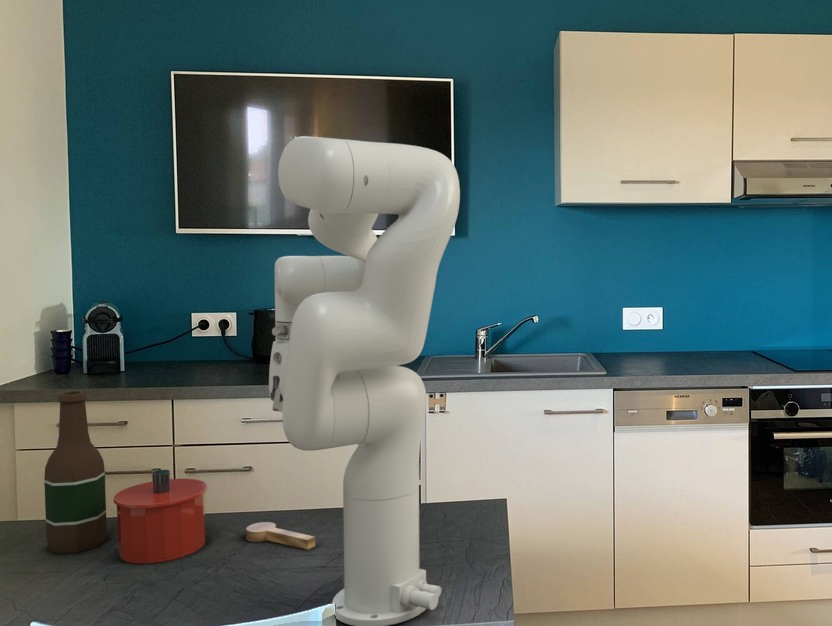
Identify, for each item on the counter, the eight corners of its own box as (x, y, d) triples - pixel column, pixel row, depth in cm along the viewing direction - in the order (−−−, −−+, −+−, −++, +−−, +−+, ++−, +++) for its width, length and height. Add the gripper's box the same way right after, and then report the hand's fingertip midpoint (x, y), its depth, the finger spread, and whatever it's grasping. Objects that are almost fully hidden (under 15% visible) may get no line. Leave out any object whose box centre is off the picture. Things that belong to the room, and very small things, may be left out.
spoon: (322, 543, 122) (322, 533, 122) (300, 553, 118) (300, 543, 118) (262, 529, 128) (262, 520, 128) (240, 538, 124) (239, 529, 124)
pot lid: (225, 492, 122) (225, 466, 122) (150, 517, 111) (149, 489, 111) (171, 481, 128) (171, 456, 127) (94, 504, 116) (93, 477, 116)
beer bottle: (77, 557, 116) (71, 398, 115) (33, 552, 118) (27, 396, 116) (118, 537, 124) (114, 389, 122) (77, 533, 125) (72, 386, 124)
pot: (221, 541, 123) (220, 488, 122) (152, 569, 112) (151, 511, 112) (172, 529, 128) (171, 478, 127) (101, 555, 117) (99, 499, 117)
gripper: (280, 338, 119) (282, 455, 120) (350, 328, 132) (351, 433, 134) (245, 334, 122) (247, 449, 123) (317, 325, 135) (318, 428, 137)
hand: (301, 440), depth 128 cm, fingers closed
